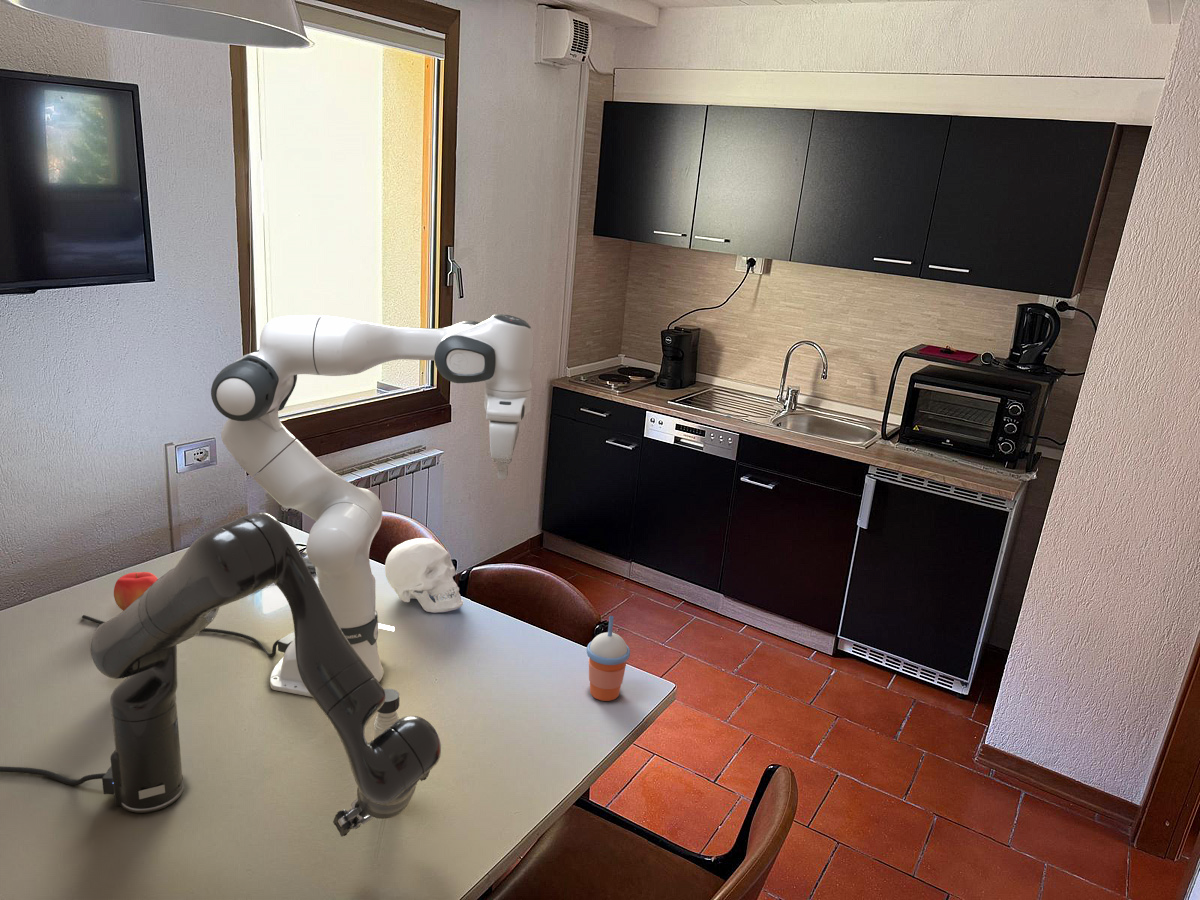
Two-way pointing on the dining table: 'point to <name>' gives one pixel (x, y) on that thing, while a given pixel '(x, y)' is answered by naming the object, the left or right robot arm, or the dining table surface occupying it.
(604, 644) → the cup with straw
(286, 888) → the dining table surface
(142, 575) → the apple
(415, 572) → the skull
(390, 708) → the cap
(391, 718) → the bottle
